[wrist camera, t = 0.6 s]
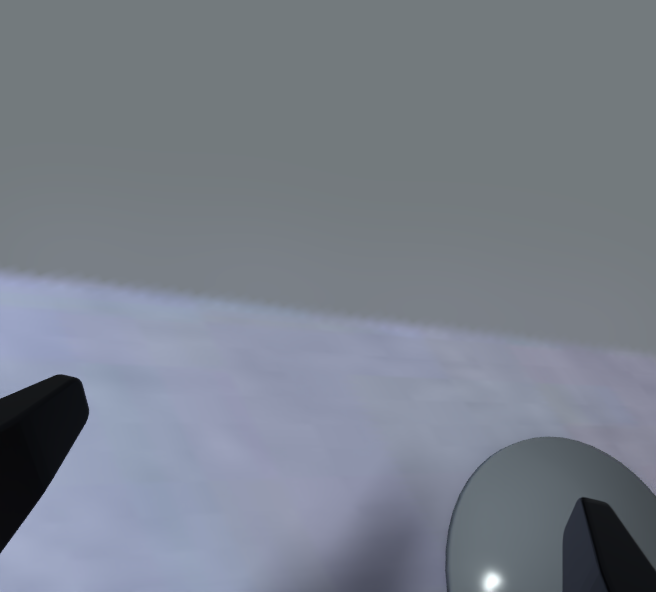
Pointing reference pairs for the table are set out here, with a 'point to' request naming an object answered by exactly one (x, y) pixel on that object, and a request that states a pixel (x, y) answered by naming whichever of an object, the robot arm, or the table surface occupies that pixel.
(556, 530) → the coaster
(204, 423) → the table surface
